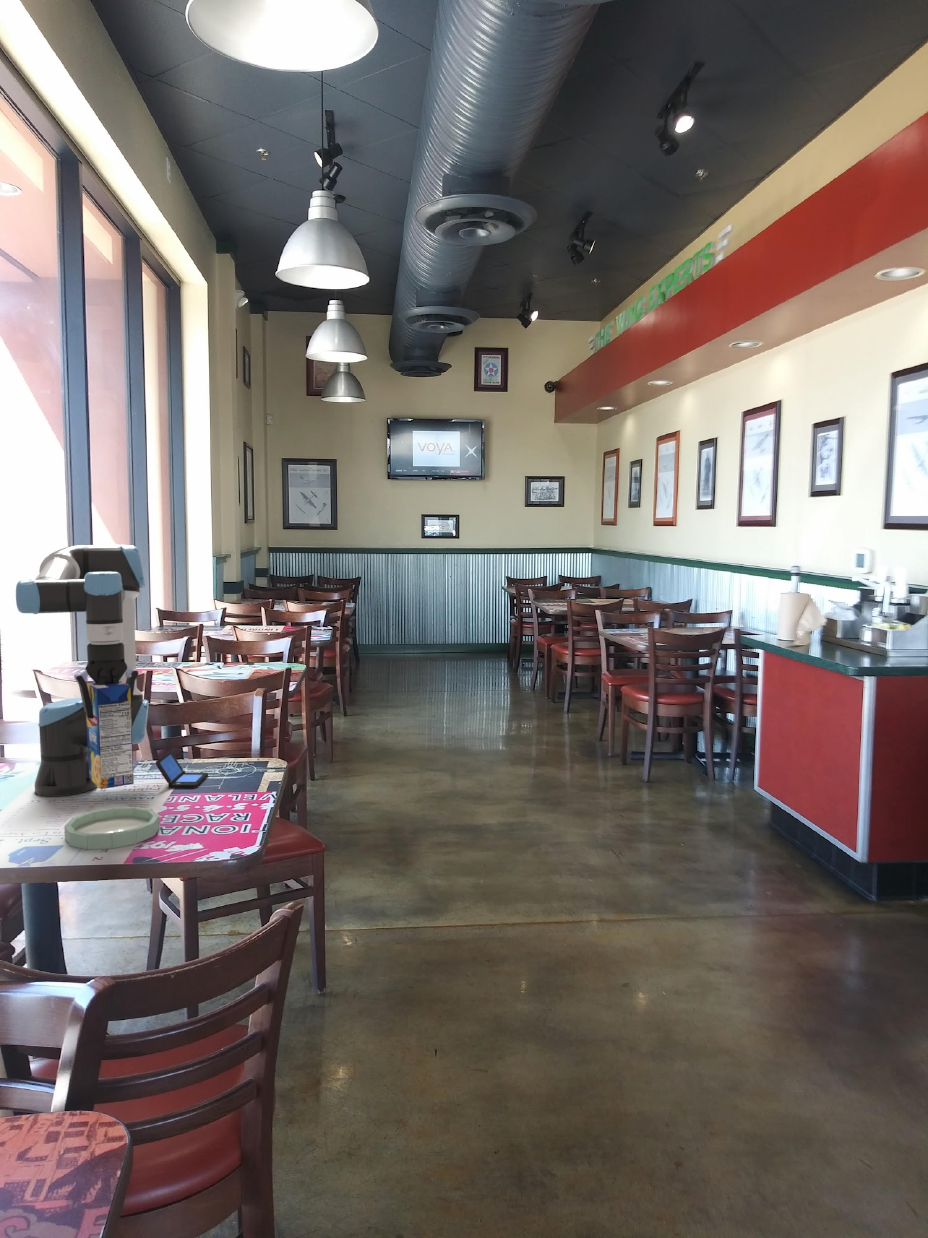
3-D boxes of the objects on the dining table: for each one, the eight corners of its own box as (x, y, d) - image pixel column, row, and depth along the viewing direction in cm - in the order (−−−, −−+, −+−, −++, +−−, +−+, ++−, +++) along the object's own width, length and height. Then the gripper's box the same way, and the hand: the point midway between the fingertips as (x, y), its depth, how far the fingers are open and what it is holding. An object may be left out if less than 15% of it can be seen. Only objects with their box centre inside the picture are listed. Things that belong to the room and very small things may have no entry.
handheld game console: (196, 789, 225) (195, 762, 224) (155, 789, 224) (154, 762, 224) (209, 776, 237) (208, 750, 236) (170, 776, 237) (169, 750, 236)
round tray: (58, 830, 193) (57, 817, 192) (144, 814, 204) (143, 802, 204) (77, 855, 177) (76, 841, 177) (169, 836, 189) (168, 823, 188)
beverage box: (101, 789, 183) (96, 688, 181) (88, 777, 192) (84, 681, 190) (133, 784, 187) (130, 685, 185) (120, 773, 196) (116, 678, 194)
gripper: (73, 646, 179) (77, 756, 181) (145, 641, 188) (148, 746, 190) (65, 642, 185) (70, 749, 187) (135, 638, 194) (139, 739, 196)
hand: (109, 747), depth 189 cm, fingers closed on beverage box, 2 cm apart
